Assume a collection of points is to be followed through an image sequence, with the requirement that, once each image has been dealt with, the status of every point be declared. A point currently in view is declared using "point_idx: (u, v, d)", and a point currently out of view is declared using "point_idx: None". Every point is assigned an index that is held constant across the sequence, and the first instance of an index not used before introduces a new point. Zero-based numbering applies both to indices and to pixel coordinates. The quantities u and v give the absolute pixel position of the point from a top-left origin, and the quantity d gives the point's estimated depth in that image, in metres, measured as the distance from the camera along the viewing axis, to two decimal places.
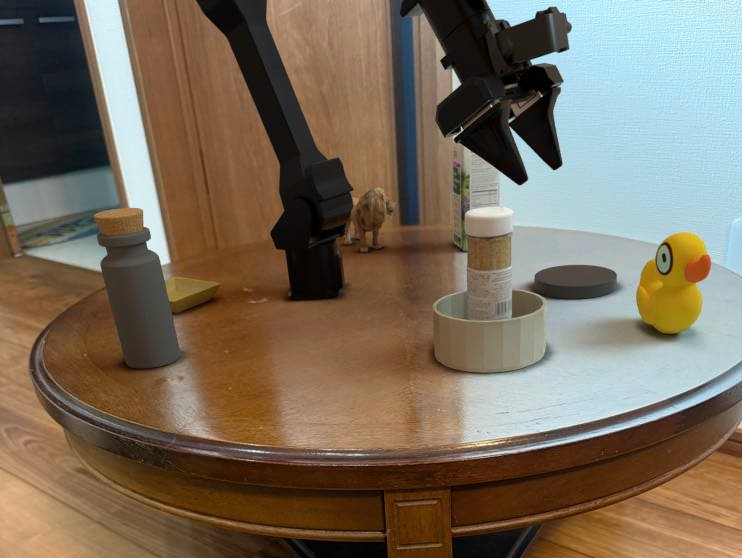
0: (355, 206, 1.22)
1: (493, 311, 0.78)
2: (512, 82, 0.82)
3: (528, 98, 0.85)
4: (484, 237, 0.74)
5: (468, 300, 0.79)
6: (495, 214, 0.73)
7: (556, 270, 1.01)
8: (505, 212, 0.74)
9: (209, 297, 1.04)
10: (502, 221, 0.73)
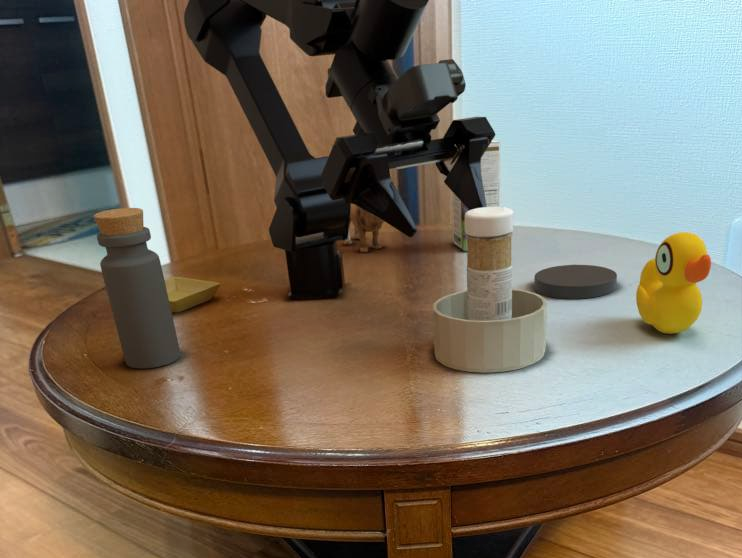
0: (355, 206, 1.22)
1: (493, 311, 0.78)
2: (424, 139, 0.81)
3: (454, 153, 0.83)
4: (484, 237, 0.74)
5: (468, 300, 0.79)
6: (495, 214, 0.73)
7: (556, 270, 1.01)
8: (505, 212, 0.74)
9: (209, 297, 1.04)
10: (502, 221, 0.73)
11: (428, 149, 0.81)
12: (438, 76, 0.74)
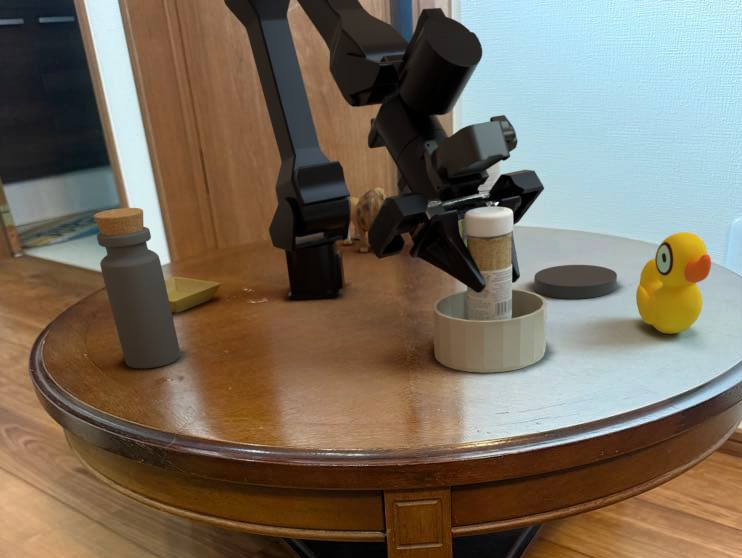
0: (355, 206, 1.22)
1: (493, 311, 0.78)
2: (472, 195, 0.78)
3: None
4: (483, 237, 0.74)
5: (468, 300, 0.79)
6: (495, 214, 0.73)
7: (556, 270, 1.01)
8: (505, 212, 0.73)
9: (209, 297, 1.04)
10: (502, 221, 0.73)
11: (476, 204, 0.79)
12: (491, 135, 0.71)
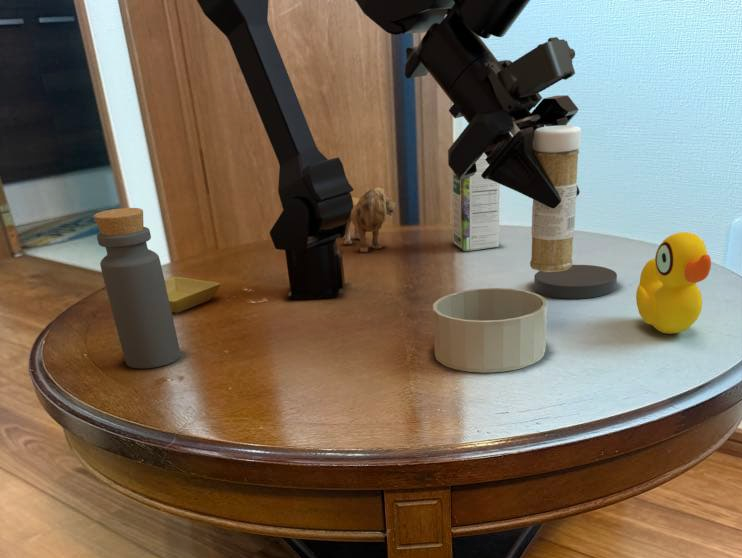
0: (355, 206, 1.22)
1: (565, 226, 0.81)
2: (524, 118, 0.81)
3: None
4: (560, 153, 0.77)
5: (537, 218, 0.82)
6: (570, 129, 0.77)
7: None
8: (576, 127, 0.78)
9: (209, 297, 1.04)
10: (577, 136, 0.77)
11: (527, 127, 0.82)
12: (562, 52, 0.75)
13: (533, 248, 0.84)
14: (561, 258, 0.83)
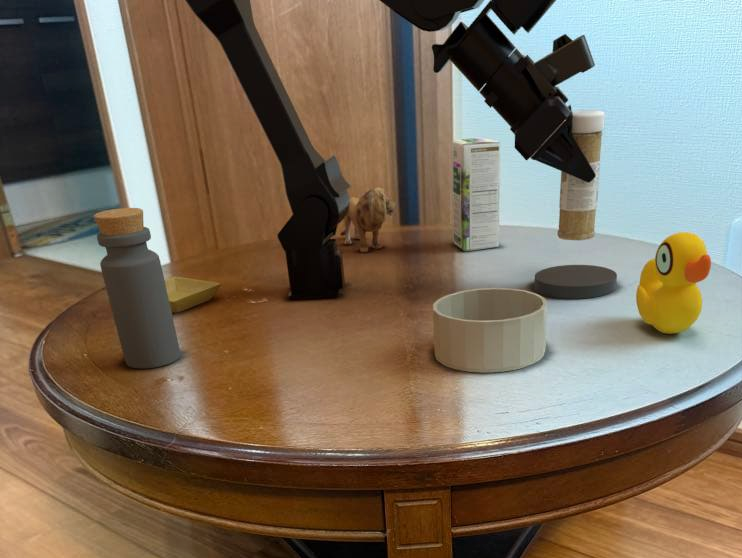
0: (355, 206, 1.22)
1: (595, 198, 0.93)
2: None
3: None
4: (593, 133, 0.89)
5: (571, 193, 0.92)
6: (599, 112, 0.88)
7: (556, 270, 1.01)
8: (600, 111, 0.89)
9: (209, 297, 1.04)
10: (604, 117, 0.89)
11: None
12: None
13: (565, 220, 0.94)
14: (591, 227, 0.94)
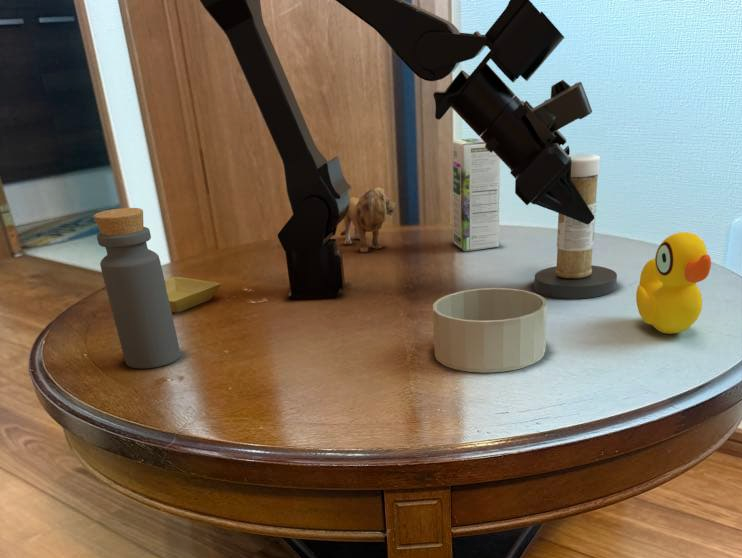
0: (355, 206, 1.22)
1: (591, 238, 0.95)
2: None
3: None
4: (589, 177, 0.91)
5: (568, 234, 0.95)
6: (595, 156, 0.91)
7: None
8: (596, 155, 0.92)
9: (209, 297, 1.04)
10: (599, 161, 0.91)
11: None
12: None
13: (563, 259, 0.97)
14: (588, 265, 0.97)
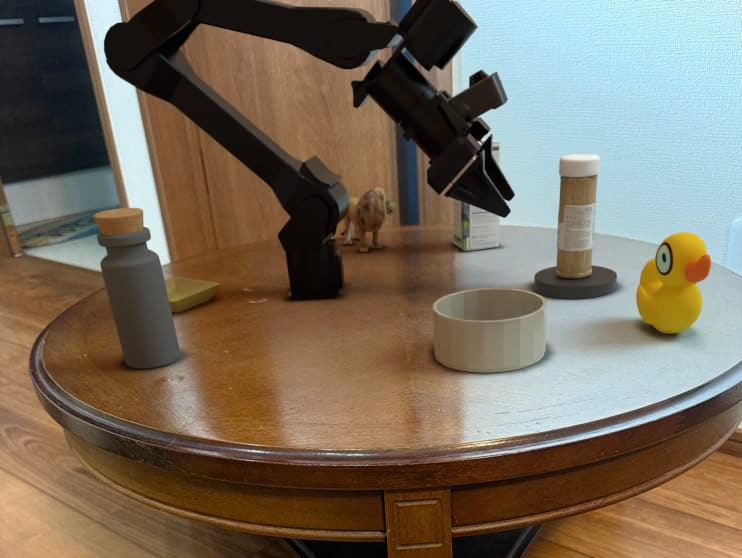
0: (355, 206, 1.22)
1: (591, 238, 0.95)
2: None
3: None
4: (589, 177, 0.91)
5: (568, 234, 0.95)
6: (595, 156, 0.91)
7: None
8: (595, 155, 0.92)
9: (209, 297, 1.04)
10: (599, 161, 0.91)
11: None
12: (500, 83, 0.89)
13: (563, 259, 0.97)
14: (588, 265, 0.97)
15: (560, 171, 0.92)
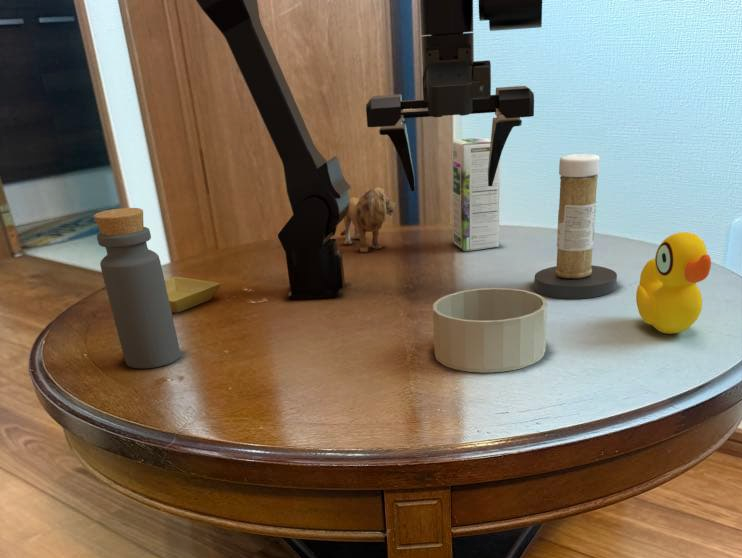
0: (355, 206, 1.22)
1: (591, 238, 0.95)
2: None
3: (495, 113, 0.91)
4: (589, 177, 0.91)
5: (568, 234, 0.95)
6: (595, 156, 0.91)
7: None
8: (595, 155, 0.92)
9: (209, 297, 1.04)
10: (599, 161, 0.91)
11: None
12: (453, 97, 0.84)
13: (563, 259, 0.97)
14: (588, 265, 0.97)
15: (560, 171, 0.92)
